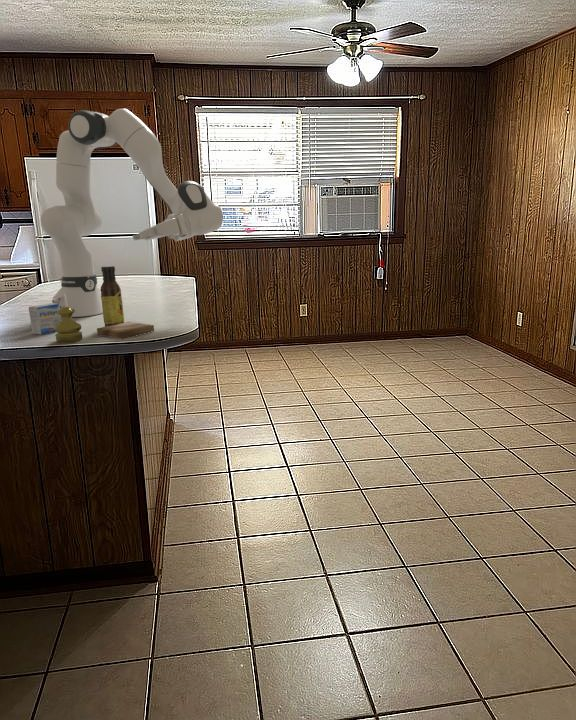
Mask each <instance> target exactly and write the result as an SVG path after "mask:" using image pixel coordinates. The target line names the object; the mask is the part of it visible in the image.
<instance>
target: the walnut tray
mask: <svg viewBox="0 0 576 720" xmlns="http://www.w3.org/2000/svg"><path fill="white" fill-rule="evenodd" d="M151 331H154V332H155V325H154V324H150V323H149V324H148V323H142V322H134V321H133V322H132V321H126V322H125V321H124V323H120V324H115V325H111V326H106V327H105V326H102V327H98V328H96V333H97V336H101V335H102V336H101V337H107V336H108V337H107V338H113V339H121V340H125V339H129V338H134V337H137V336H136V335H138V336H141V335H140V334H142V335H145V334H144V333H146V334H149V333H148V332H150V333H152V332H151ZM133 336H134V337H133Z"/></svg>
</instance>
